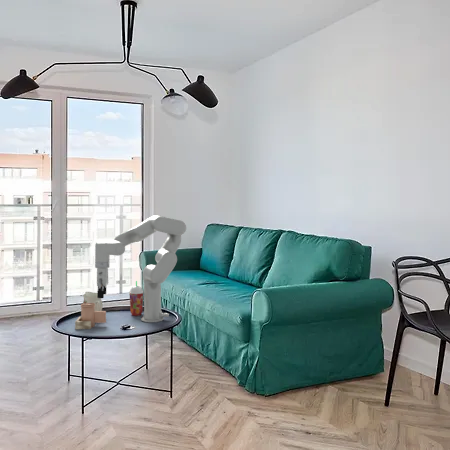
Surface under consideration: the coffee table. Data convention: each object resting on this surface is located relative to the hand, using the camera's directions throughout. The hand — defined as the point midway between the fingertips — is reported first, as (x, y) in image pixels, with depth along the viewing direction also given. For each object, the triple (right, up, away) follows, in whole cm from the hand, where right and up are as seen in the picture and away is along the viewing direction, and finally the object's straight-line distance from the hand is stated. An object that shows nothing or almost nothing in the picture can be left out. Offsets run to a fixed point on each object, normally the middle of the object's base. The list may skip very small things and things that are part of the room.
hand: (101, 296), depth 274 cm
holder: (-9, -16, +1) cm, 19 cm away
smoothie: (+14, -15, +26) cm, 33 cm away
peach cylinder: (-5, -16, +1) cm, 17 cm away
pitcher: (-9, -15, +18) cm, 25 cm away
